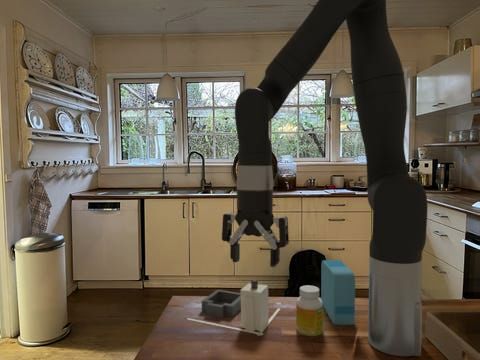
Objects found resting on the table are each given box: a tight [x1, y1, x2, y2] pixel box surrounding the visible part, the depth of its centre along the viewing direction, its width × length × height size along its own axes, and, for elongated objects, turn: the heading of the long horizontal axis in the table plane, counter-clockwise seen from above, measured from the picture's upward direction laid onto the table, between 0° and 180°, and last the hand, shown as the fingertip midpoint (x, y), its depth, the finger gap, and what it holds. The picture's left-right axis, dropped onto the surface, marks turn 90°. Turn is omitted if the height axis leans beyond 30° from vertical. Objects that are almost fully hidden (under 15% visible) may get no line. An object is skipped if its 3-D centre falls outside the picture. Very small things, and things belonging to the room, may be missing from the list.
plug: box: [240, 279, 270, 333], centre depth 74 cm, size 4×6×10 cm
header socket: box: [201, 289, 241, 319], centre depth 83 cm, size 10×9×2 cm
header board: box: [186, 307, 281, 337], centre depth 80 cm, size 18×14×1 cm
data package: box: [320, 259, 356, 326], centre depth 80 cm, size 12×4×12 cm, turn 0°
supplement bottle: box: [295, 285, 324, 337], centre depth 72 cm, size 5×5×10 cm
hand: (254, 263), depth 74 cm, fingers open, 8 cm apart
